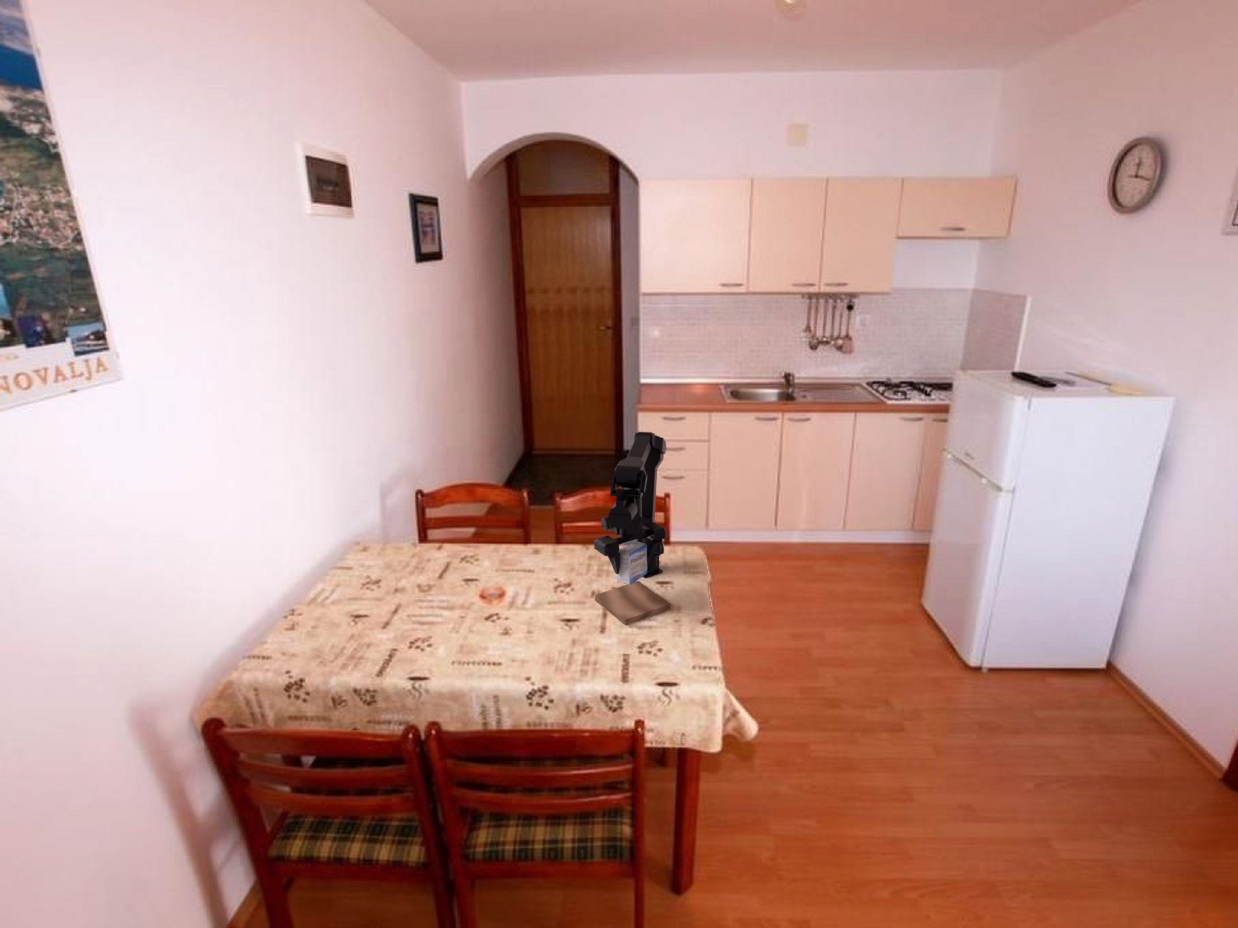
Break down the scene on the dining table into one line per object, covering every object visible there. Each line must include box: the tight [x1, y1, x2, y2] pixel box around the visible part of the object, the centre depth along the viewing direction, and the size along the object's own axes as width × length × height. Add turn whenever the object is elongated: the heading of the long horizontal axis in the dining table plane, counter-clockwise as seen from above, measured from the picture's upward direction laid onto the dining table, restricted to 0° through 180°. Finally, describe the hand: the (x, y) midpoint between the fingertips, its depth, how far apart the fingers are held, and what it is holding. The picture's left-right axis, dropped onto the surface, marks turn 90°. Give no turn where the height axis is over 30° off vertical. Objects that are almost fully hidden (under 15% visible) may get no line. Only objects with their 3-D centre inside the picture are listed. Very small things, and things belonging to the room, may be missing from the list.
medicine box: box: [615, 541, 647, 585], centre depth 169 cm, size 8×4×9 cm, turn 142°
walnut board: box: [594, 580, 672, 626], centre depth 172 cm, size 14×15×2 cm
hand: (631, 568), depth 169 cm, fingers closed on medicine box, 9 cm apart
